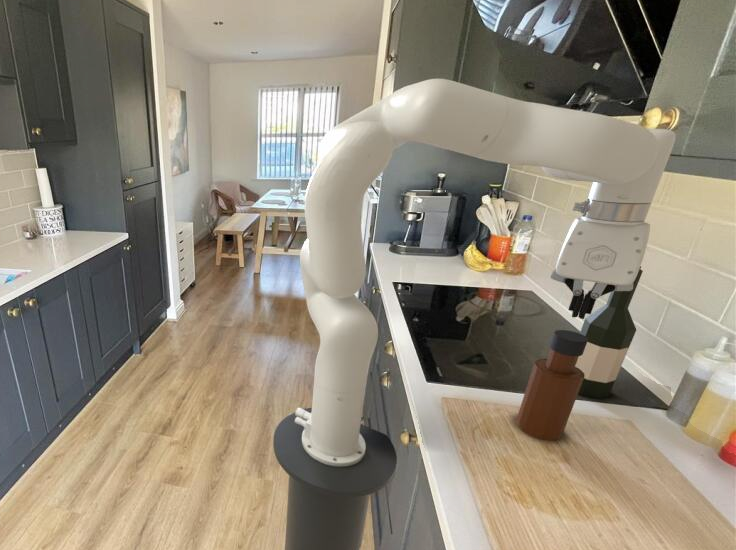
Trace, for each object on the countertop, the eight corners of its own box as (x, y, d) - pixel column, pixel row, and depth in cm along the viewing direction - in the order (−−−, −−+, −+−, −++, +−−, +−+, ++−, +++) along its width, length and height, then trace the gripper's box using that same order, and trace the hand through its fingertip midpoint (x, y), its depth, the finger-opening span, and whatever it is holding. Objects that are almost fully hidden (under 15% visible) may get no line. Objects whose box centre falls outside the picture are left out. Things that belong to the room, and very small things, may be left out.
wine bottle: (558, 387, 93) (602, 265, 82) (566, 374, 98) (608, 257, 87) (605, 403, 87) (660, 274, 76) (611, 388, 92) (663, 265, 81)
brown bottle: (513, 429, 80) (539, 351, 73) (518, 411, 85) (542, 337, 78) (560, 446, 76) (591, 364, 69) (562, 426, 81) (591, 348, 74)
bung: (544, 362, 74) (553, 336, 72) (546, 352, 78) (555, 327, 76) (577, 371, 71) (588, 344, 69) (578, 360, 75) (588, 334, 73)
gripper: (554, 211, 66) (524, 312, 73) (685, 220, 57) (637, 334, 64) (557, 205, 71) (529, 300, 78) (678, 213, 62) (634, 319, 69)
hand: (577, 315), depth 71 cm, fingers closed
